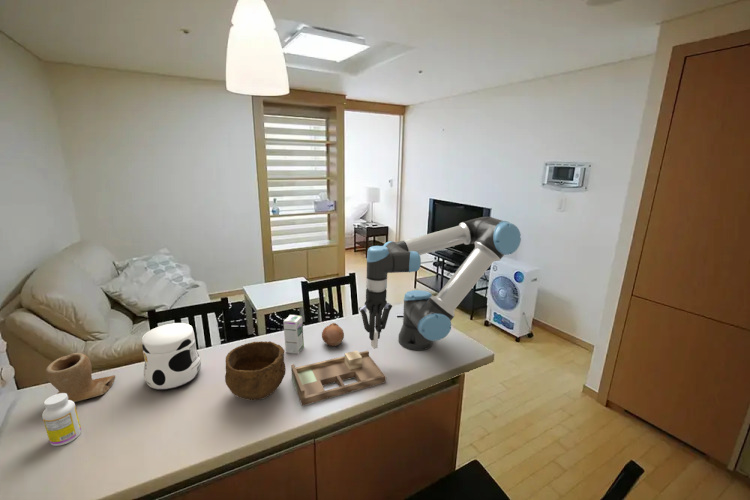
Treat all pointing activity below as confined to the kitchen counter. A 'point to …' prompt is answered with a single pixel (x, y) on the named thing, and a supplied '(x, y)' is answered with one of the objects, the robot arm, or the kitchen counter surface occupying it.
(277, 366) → the bowl
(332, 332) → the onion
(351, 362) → the maple block
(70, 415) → the supplement bottle
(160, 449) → the kitchen counter surface
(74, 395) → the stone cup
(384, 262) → the robot arm
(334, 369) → the board
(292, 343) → the syrup box
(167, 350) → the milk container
